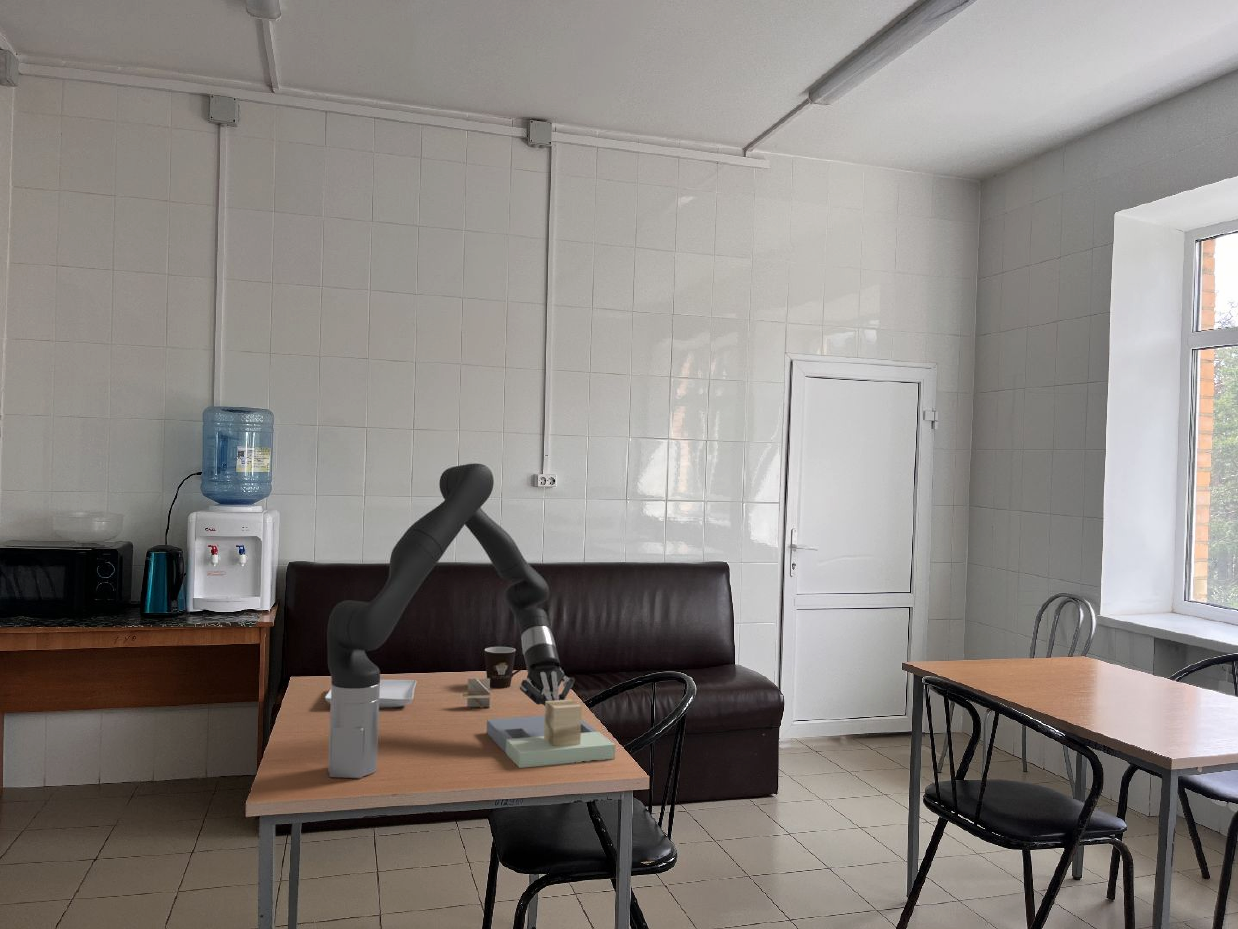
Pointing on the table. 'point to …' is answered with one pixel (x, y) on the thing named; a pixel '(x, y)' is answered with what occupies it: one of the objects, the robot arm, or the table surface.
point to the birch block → (562, 722)
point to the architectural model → (478, 693)
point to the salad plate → (392, 693)
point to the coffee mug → (500, 666)
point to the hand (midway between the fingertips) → (555, 719)
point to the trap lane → (545, 743)
